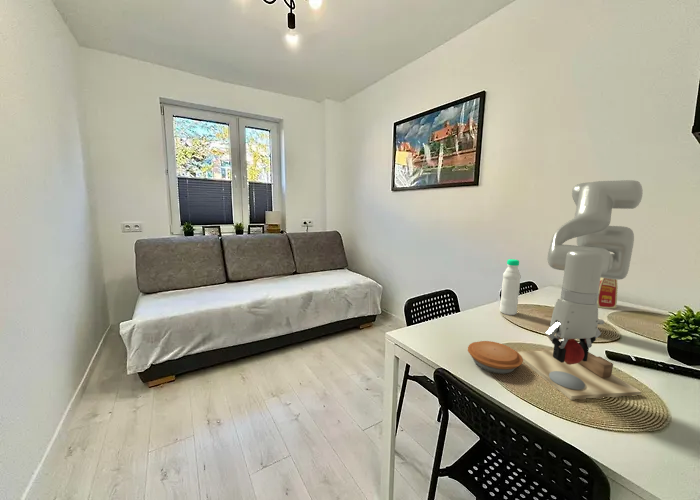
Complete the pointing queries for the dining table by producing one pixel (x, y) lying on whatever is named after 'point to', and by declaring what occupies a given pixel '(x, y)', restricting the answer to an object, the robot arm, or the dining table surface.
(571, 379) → the felt pad
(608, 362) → the block
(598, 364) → the leg
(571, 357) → the onion
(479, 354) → the pie
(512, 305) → the white milk bottle
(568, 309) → the robot arm
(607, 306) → the milk carton
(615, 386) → the board
